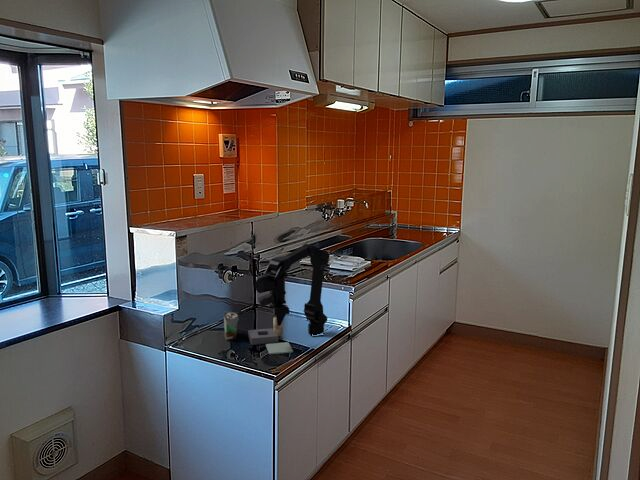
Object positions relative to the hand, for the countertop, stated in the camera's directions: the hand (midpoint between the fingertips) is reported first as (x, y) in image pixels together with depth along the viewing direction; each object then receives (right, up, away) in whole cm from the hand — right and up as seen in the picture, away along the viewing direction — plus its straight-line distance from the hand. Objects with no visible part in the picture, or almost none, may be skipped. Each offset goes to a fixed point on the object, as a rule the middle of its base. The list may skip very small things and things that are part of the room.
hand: (278, 323), depth 211 cm
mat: (0, -11, +1) cm, 11 cm away
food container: (-22, -8, +15) cm, 28 cm away
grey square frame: (-8, -9, +11) cm, 17 cm away
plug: (0, -4, +1) cm, 5 cm away
